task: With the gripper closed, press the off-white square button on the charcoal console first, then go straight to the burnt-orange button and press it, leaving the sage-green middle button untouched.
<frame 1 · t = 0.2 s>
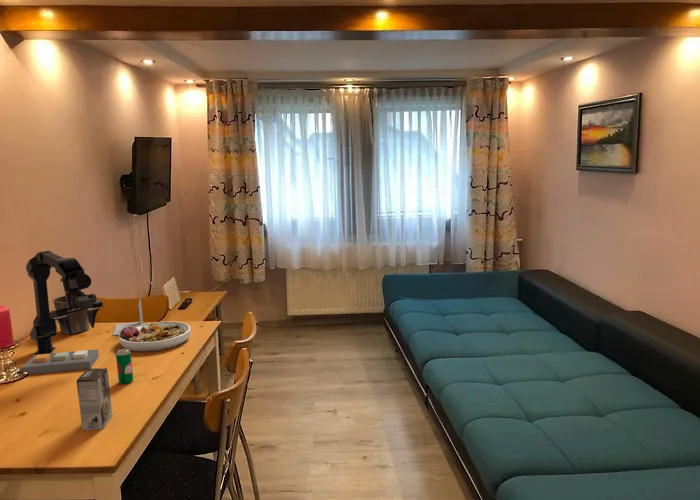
hand: (81, 330, 218), 15 cm above the table, tool pointing down, fingers open, 9 cm apart
soda can: (126, 382, 206), on the table
coffee box: (97, 423, 175), on the table
console: (62, 365, 225), on the table
laptop: (128, 329, 270), on the table
plant pot: (75, 331, 270), on the table
bowl: (156, 342, 251), on the table
orange button: (42, 359, 223), point 3 cm above the table, slide at 0.0 cm
off white button: (80, 356, 226), point 3 cm above the table, slide at 0.0 cm
sage button: (61, 358, 224), point 3 cm above the table, slide at 0.0 cm
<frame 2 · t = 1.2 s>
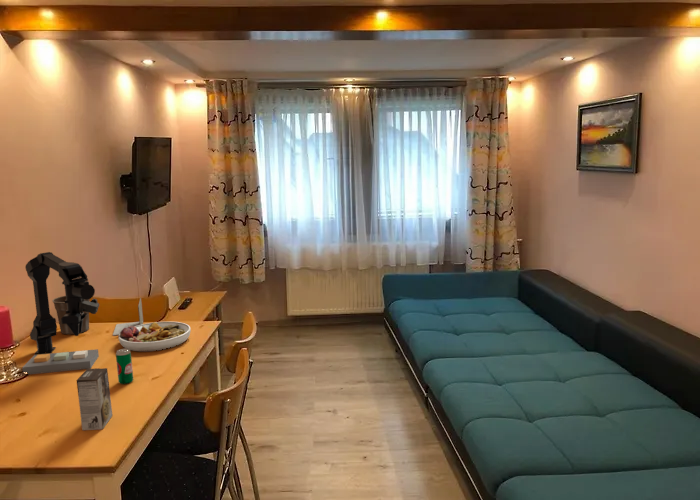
hand: (78, 334, 224), 12 cm above the table, tool pointing down, fingers open, 4 cm apart
nothing on the table moved.
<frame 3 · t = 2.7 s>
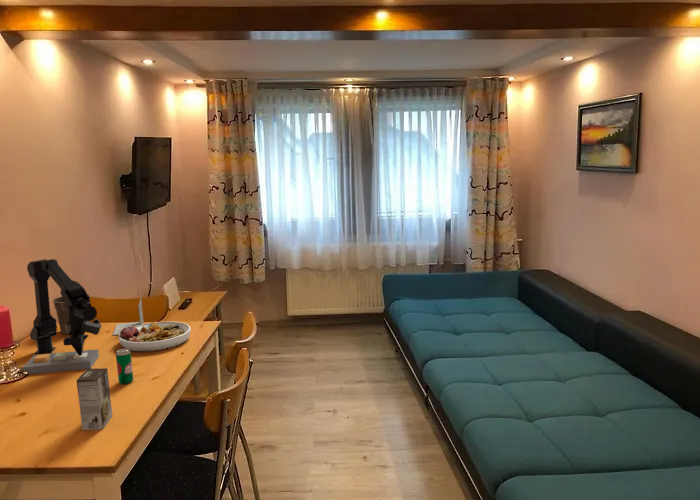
hand: (80, 355, 225), 4 cm above the table, tool pointing down, fingers closed, pressing on off white button
off white button: (80, 358, 226), point 2 cm above the table, slide at 1.0 cm, touching gripper
everything else where it was.
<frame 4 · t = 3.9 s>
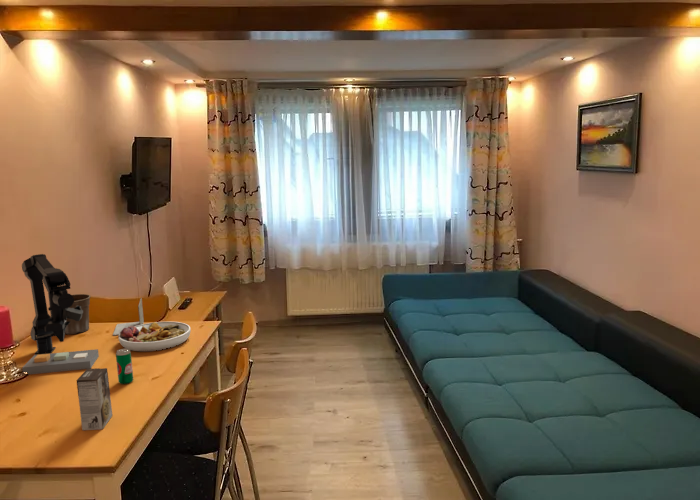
hand: (61, 341, 223), 10 cm above the table, tool pointing down, fingers closed
off white button: (80, 358, 226), point 2 cm above the table, slide at 1.0 cm
everything else where it was.
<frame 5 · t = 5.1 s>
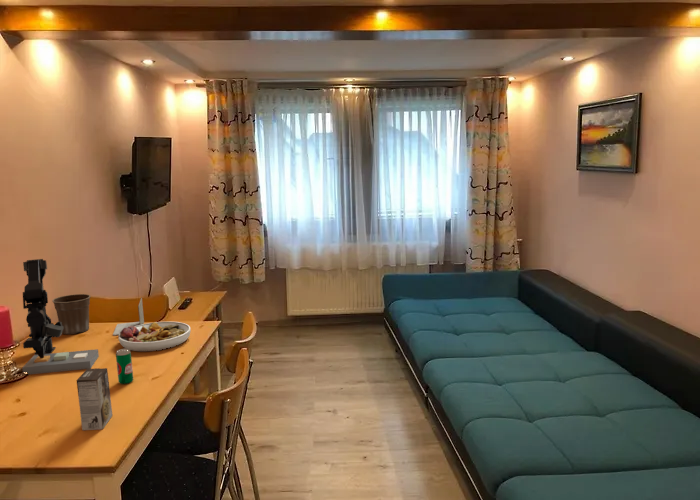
hand: (42, 357, 223), 4 cm above the table, tool pointing down, fingers closed, pressing on orange button
orange button: (42, 361, 223), point 2 cm above the table, slide at 0.7 cm, touching gripper
everything else where it was.
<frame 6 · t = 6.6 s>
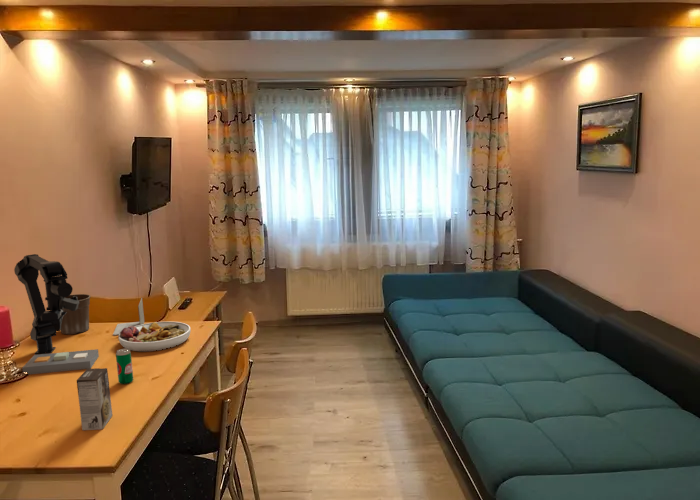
hand: (58, 330, 230), 12 cm above the table, tool pointing down, fingers closed
orange button: (42, 362, 223), point 2 cm above the table, slide at 1.0 cm
everything else where it was.
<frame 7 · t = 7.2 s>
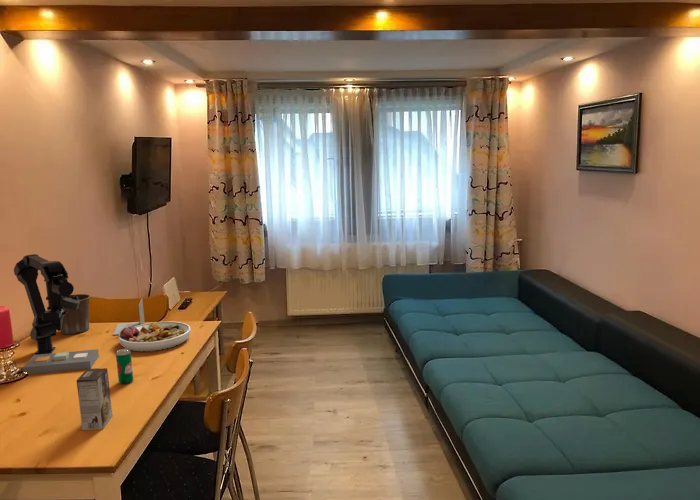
hand: (59, 330, 230), 12 cm above the table, tool pointing down, fingers closed
nothing on the table moved.
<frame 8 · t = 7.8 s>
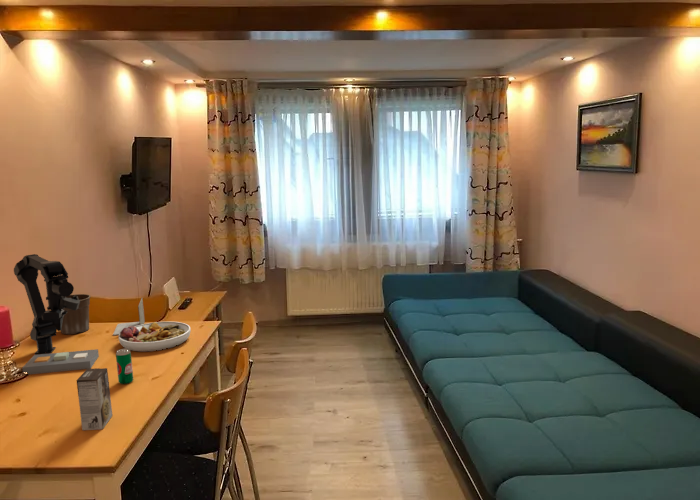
hand: (59, 330, 230), 12 cm above the table, tool pointing down, fingers closed
nothing on the table moved.
at the end: off white button slide at 1.0 cm; orange button slide at 1.0 cm; sage button slide at 0.0 cm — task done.
